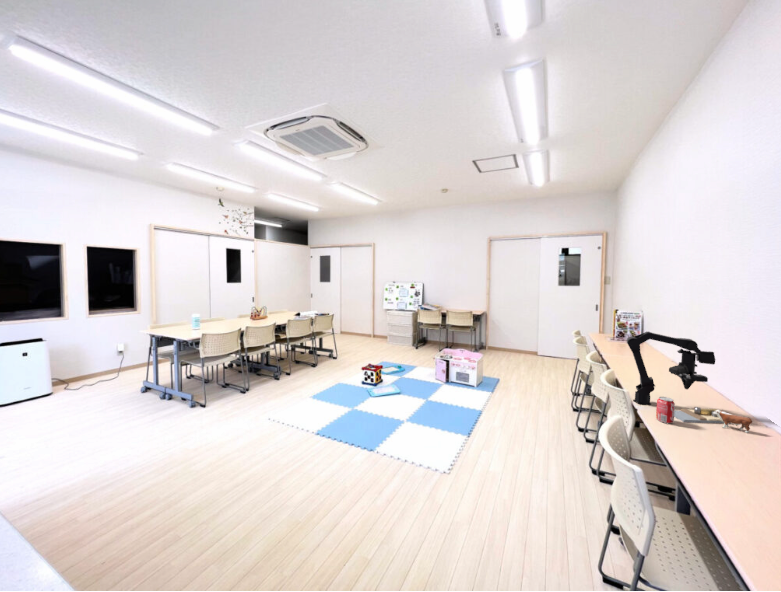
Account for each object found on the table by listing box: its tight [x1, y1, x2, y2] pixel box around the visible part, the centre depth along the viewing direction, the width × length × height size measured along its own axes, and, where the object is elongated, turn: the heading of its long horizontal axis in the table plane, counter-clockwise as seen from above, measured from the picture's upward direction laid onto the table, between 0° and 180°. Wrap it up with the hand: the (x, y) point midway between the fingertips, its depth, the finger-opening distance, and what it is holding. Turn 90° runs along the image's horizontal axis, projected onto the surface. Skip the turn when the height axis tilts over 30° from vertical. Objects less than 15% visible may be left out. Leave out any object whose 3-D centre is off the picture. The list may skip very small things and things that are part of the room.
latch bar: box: [693, 406, 720, 414], centre depth 172 cm, size 12×2×3 cm, turn 86°
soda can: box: [655, 396, 676, 424], centre depth 167 cm, size 7×7×12 cm
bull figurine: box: [713, 409, 753, 434], centre depth 160 cm, size 4×13×8 cm, turn 44°
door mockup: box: [674, 408, 732, 425], centre depth 172 cm, size 23×12×4 cm, turn 87°
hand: (686, 389), depth 181 cm, fingers closed
